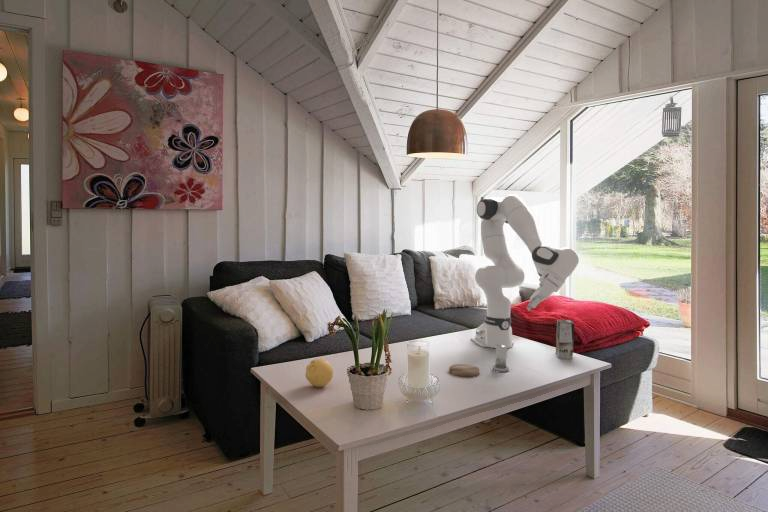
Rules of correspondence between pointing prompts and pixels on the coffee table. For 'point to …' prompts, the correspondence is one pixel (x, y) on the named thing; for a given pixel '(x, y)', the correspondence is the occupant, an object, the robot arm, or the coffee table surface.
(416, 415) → the coffee table surface
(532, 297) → the robot arm
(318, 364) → the stress ball
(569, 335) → the coffee box
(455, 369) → the base disc
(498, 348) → the knob
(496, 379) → the coffee table surface
